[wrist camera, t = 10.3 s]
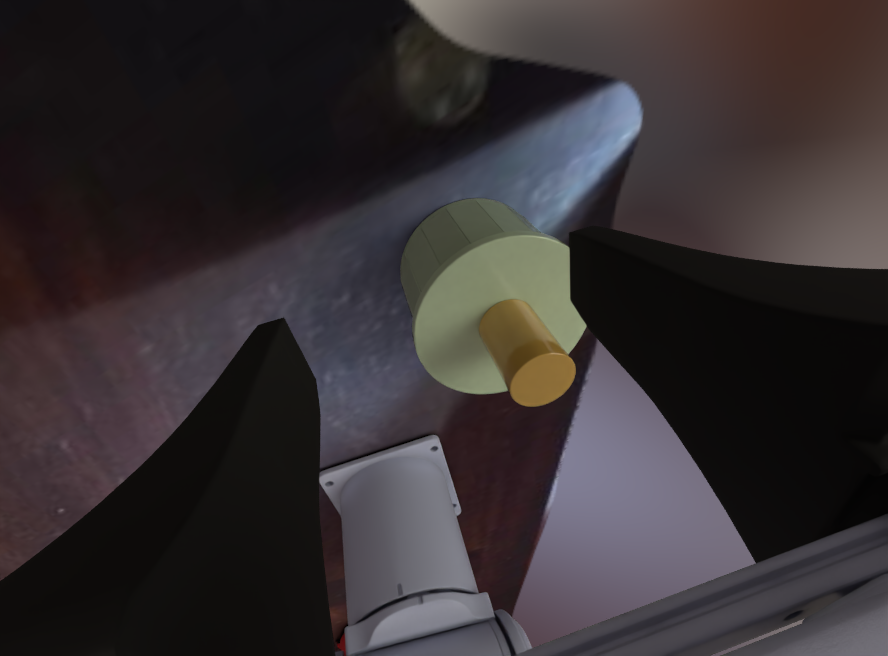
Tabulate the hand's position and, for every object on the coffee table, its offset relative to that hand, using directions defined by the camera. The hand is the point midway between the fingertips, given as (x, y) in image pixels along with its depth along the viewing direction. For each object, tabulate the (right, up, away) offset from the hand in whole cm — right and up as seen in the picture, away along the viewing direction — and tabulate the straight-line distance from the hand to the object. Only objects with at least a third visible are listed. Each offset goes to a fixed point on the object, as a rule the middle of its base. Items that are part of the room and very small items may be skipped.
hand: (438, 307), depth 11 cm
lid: (+3, 0, +7) cm, 8 cm away
